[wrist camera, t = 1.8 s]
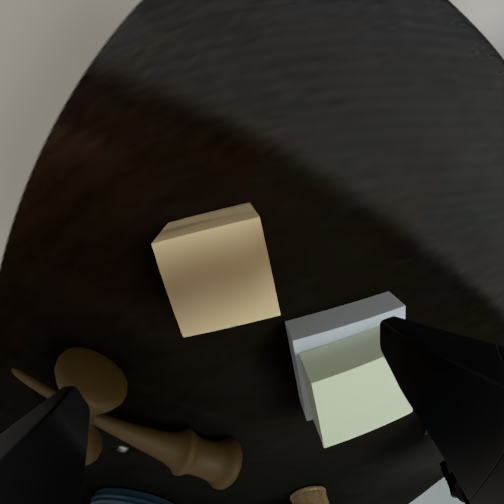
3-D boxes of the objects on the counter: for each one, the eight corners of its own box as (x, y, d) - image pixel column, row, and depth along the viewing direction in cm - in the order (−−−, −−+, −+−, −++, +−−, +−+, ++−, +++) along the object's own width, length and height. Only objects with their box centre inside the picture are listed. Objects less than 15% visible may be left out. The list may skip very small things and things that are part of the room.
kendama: (206, 465, 26) (21, 383, 21) (256, 411, 24) (36, 307, 19) (209, 511, 20) (-4, 424, 15) (268, 464, 18) (-2, 347, 13)
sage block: (395, 388, 21) (412, 412, 18) (313, 420, 21) (324, 448, 18) (395, 318, 19) (418, 340, 16) (298, 353, 19) (311, 383, 16)
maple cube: (266, 278, 20) (280, 314, 15) (190, 296, 20) (183, 337, 15) (249, 202, 18) (259, 216, 14) (168, 222, 18) (151, 243, 13)
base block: (385, 368, 24) (400, 388, 21) (298, 396, 24) (306, 421, 21) (385, 288, 22) (405, 305, 19) (283, 317, 21) (292, 340, 18)
